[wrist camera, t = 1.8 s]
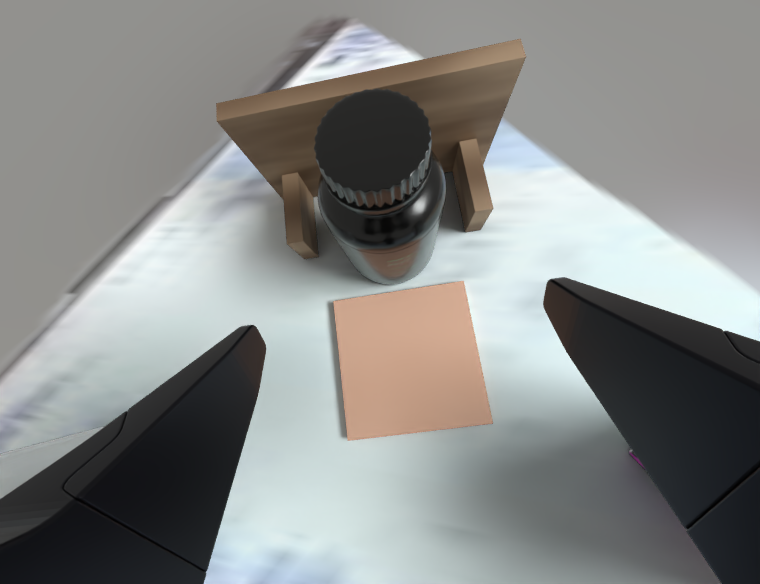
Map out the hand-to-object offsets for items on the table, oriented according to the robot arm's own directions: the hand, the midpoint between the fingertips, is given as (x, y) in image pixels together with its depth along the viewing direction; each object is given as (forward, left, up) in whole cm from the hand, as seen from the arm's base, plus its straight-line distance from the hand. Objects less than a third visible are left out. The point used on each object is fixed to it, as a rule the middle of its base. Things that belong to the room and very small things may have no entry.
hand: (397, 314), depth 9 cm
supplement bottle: (+3, +6, -13) cm, 15 cm away
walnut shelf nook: (+5, +10, -13) cm, 17 cm away
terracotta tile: (-1, -2, -13) cm, 13 cm away
